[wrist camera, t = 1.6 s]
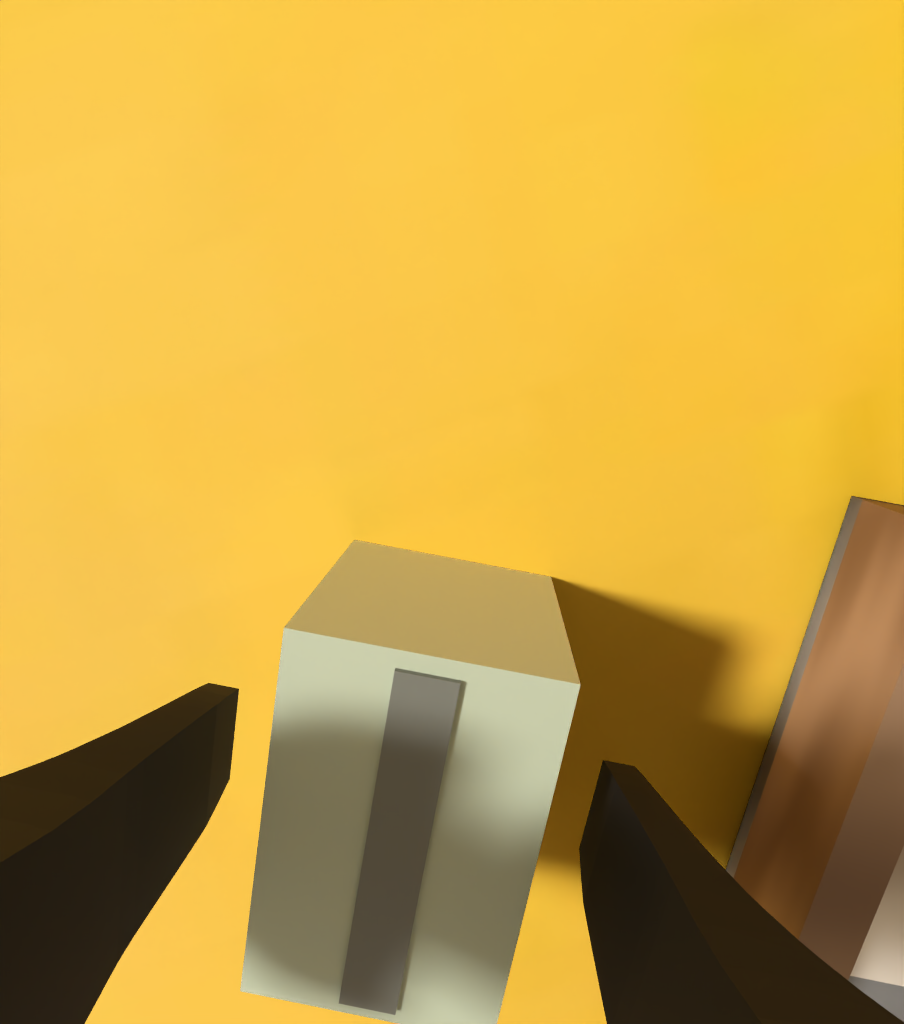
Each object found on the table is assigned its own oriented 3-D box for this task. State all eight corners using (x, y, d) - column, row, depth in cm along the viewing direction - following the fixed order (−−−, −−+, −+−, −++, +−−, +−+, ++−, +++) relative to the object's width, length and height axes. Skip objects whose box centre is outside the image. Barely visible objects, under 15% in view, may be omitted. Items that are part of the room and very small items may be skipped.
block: (492, 834, 16) (491, 1049, 11) (318, 799, 16) (238, 996, 11) (550, 575, 14) (581, 688, 9) (355, 538, 14) (282, 630, 9)
